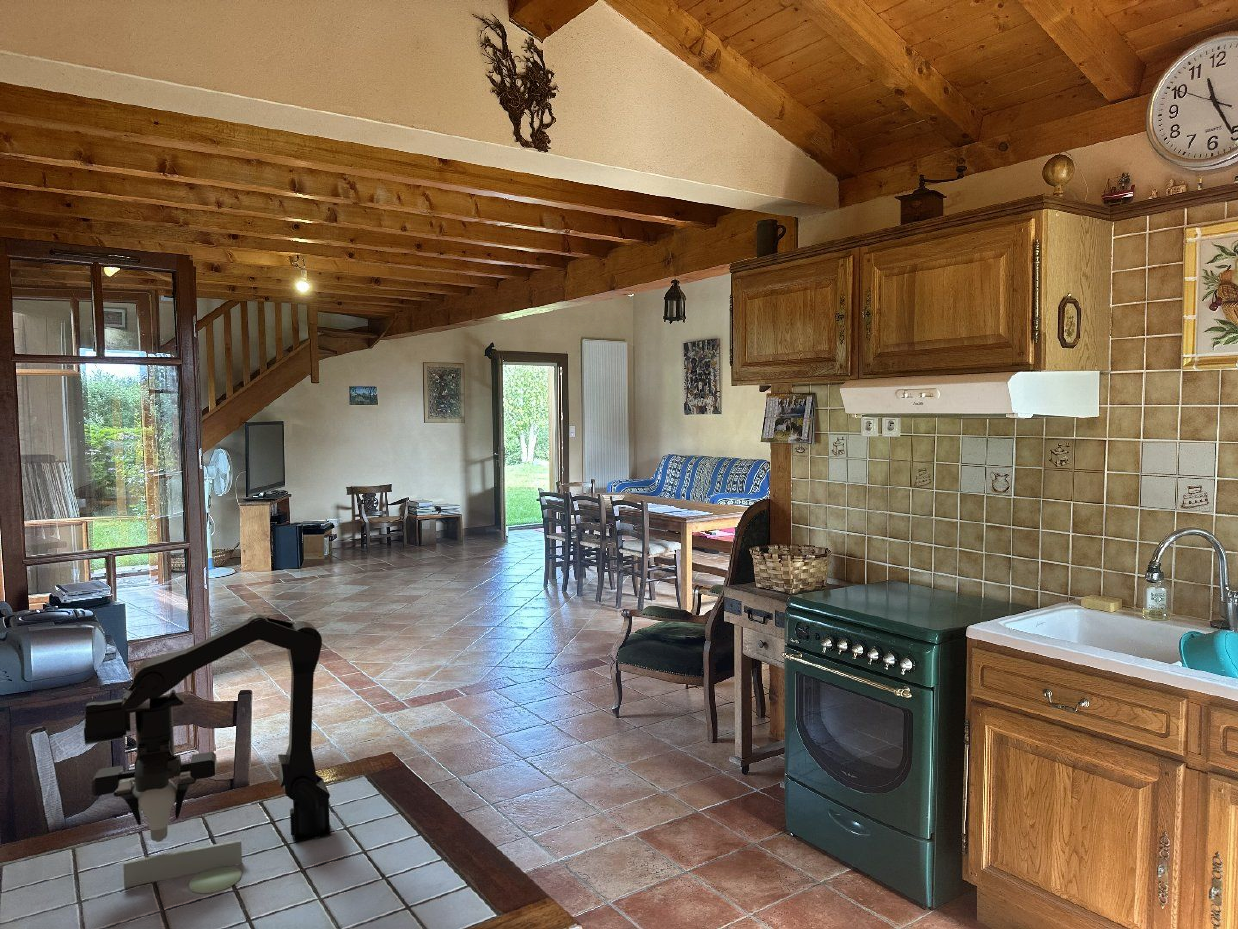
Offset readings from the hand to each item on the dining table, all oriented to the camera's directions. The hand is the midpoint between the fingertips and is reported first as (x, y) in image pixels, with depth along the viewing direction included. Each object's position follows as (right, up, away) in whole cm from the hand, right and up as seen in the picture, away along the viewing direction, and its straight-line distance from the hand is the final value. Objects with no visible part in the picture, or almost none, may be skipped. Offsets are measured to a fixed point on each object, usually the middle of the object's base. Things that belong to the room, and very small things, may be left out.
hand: (158, 821), depth 147 cm
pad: (+12, -8, -5) cm, 15 cm away
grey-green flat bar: (+6, -8, -3) cm, 10 cm away
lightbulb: (0, -4, 0) cm, 4 cm away
